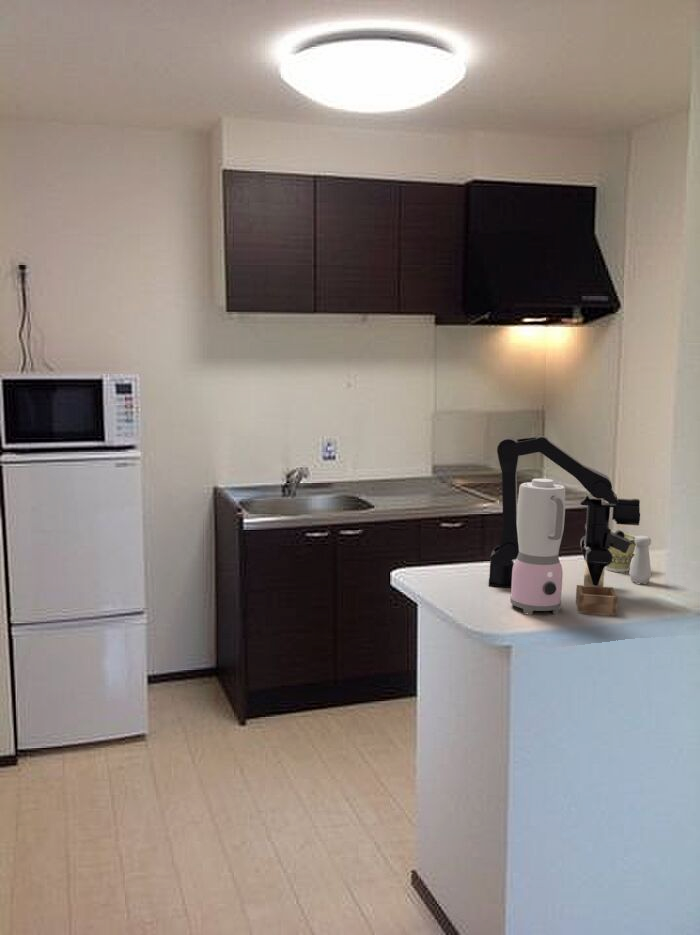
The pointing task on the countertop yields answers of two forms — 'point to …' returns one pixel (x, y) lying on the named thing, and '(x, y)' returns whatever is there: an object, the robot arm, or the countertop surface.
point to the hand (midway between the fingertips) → (593, 580)
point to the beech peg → (588, 578)
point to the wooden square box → (596, 600)
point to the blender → (539, 547)
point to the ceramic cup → (622, 556)
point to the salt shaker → (641, 561)
